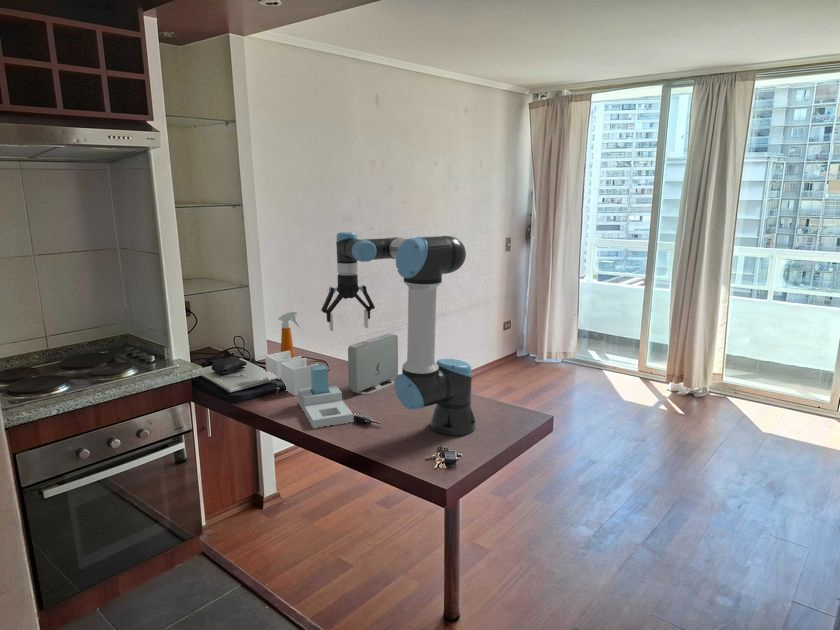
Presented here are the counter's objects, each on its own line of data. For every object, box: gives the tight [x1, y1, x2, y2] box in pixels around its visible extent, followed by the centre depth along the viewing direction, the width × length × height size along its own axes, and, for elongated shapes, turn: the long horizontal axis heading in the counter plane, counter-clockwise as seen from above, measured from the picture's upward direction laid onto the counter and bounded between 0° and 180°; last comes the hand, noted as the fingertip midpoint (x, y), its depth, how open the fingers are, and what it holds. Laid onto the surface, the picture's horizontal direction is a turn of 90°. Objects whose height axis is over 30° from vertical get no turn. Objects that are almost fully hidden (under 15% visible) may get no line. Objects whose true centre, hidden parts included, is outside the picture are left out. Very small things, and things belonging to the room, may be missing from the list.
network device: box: [347, 333, 399, 396], centre depth 227 cm, size 26×9×20 cm, turn 143°
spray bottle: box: [278, 310, 303, 358], centre depth 251 cm, size 7×11×26 cm, turn 86°
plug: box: [310, 364, 329, 395], centre depth 208 cm, size 6×5×12 cm
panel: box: [297, 383, 354, 429], centre depth 202 cm, size 24×14×6 cm, turn 23°
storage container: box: [265, 351, 320, 396], centre depth 231 cm, size 25×11×11 cm, turn 40°
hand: (348, 328), depth 216 cm, fingers open, 13 cm apart
